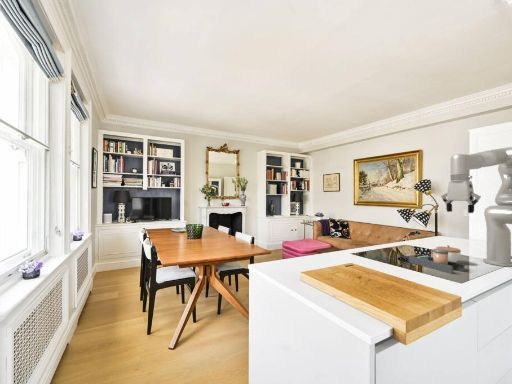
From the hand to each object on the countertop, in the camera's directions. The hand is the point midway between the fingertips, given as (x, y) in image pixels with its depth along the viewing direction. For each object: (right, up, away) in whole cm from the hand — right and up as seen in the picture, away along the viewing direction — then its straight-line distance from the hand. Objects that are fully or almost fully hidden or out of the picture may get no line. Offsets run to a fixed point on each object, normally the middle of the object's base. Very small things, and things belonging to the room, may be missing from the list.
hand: (459, 212), depth 128 cm
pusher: (-14, -28, +7) cm, 32 cm away
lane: (-12, -28, +2) cm, 31 cm away
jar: (-11, -28, -1) cm, 30 cm away
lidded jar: (+2, -29, +10) cm, 31 cm away
